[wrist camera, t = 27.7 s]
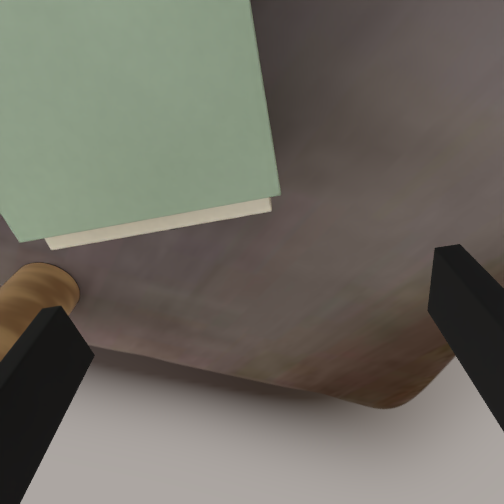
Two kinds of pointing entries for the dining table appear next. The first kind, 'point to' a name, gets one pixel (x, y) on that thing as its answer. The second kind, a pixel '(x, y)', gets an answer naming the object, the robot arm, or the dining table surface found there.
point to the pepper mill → (32, 299)
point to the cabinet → (128, 112)
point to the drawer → (161, 223)
